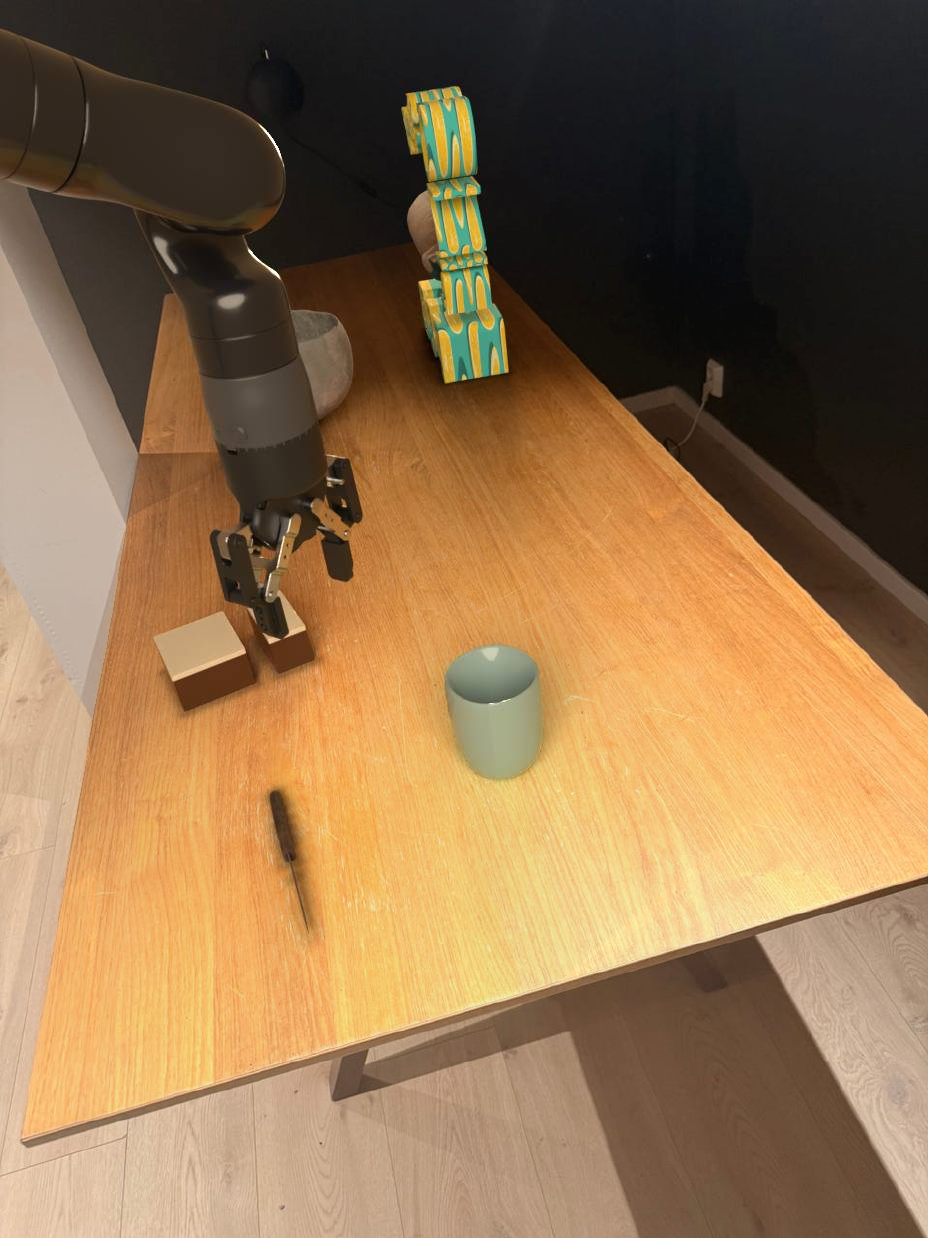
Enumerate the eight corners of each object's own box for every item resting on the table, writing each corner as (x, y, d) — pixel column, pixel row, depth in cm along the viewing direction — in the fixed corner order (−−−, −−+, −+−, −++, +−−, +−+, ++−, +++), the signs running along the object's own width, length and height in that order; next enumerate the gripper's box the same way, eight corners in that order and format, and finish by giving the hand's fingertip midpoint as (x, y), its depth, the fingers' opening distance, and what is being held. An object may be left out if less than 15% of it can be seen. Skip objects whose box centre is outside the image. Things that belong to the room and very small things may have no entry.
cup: (498, 808, 79) (486, 719, 73) (441, 761, 84) (425, 675, 79) (565, 759, 83) (558, 671, 77) (506, 718, 88) (496, 632, 82)
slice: (278, 674, 97) (267, 639, 95) (254, 636, 103) (244, 602, 101) (314, 659, 99) (305, 625, 96) (289, 622, 105) (279, 589, 102)
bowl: (356, 441, 141) (336, 342, 132) (221, 455, 142) (193, 358, 133) (368, 386, 157) (351, 296, 149) (247, 400, 159) (223, 311, 150)
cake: (184, 712, 94) (171, 677, 92) (165, 670, 100) (152, 636, 98) (256, 683, 97) (244, 648, 94) (233, 644, 103) (222, 610, 100)
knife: (318, 940, 71) (313, 923, 70) (304, 945, 71) (298, 928, 70) (280, 793, 84) (275, 777, 83) (268, 797, 84) (263, 781, 83)
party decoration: (509, 374, 155) (484, 97, 131) (439, 385, 154) (401, 110, 131) (478, 314, 180) (452, 74, 157) (418, 325, 179) (383, 84, 156)
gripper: (287, 377, 74) (327, 553, 84) (155, 455, 65) (216, 644, 74) (364, 388, 71) (397, 570, 80) (236, 472, 61) (290, 668, 71)
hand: (310, 605), depth 77 cm, fingers open, 8 cm apart
